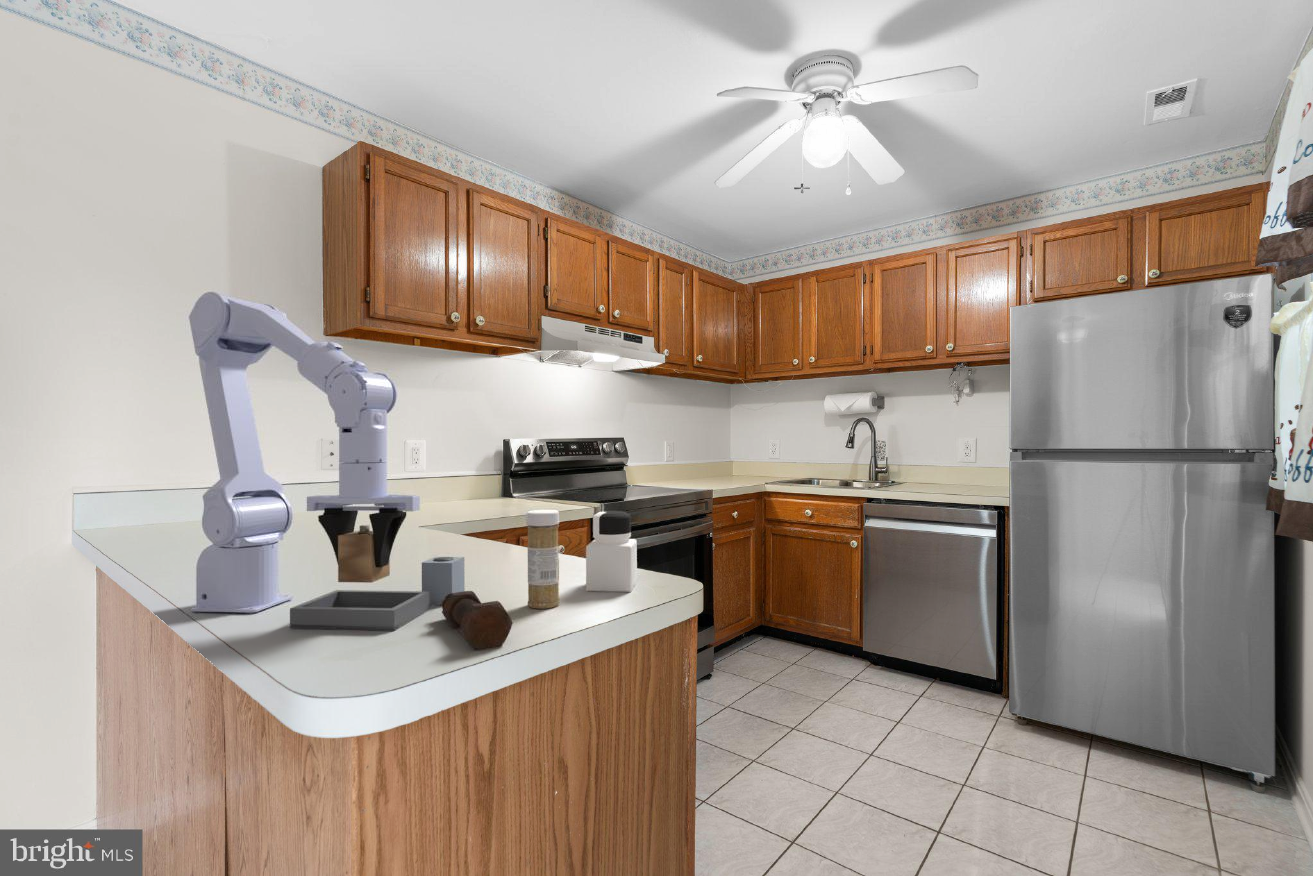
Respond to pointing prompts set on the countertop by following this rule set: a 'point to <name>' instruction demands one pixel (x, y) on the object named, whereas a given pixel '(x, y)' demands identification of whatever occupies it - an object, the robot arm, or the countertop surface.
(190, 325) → the robot arm
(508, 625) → the bolt
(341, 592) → the tray
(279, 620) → the countertop surface
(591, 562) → the medicine bottle
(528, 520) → the sprinkles bottle
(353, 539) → the block
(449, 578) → the oversize block
